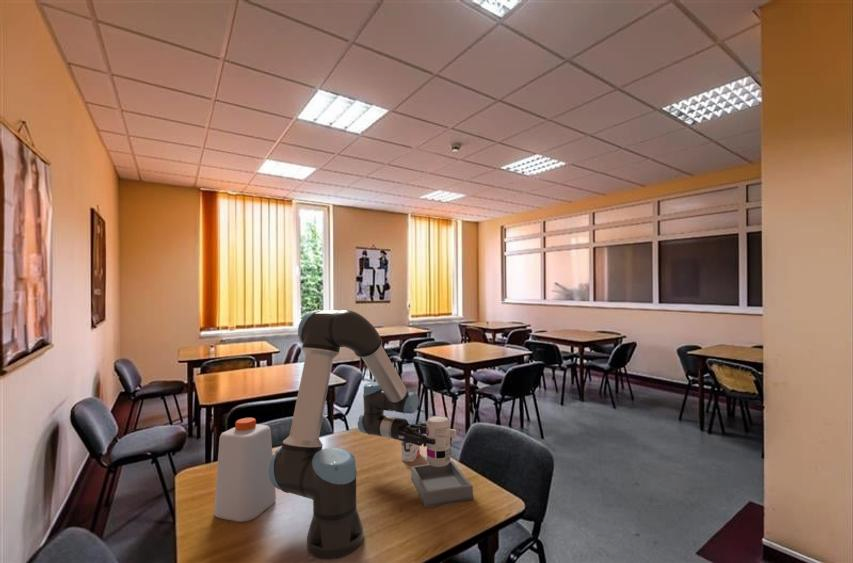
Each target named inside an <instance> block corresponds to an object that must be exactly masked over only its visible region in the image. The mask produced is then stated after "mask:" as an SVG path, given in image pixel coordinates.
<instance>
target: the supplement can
mask: <svg viewBox="0 0 853 563" xmlns="http://www.w3.org/2000/svg"><path fill="white" fill-rule="evenodd" d="M425 423H426V430H427V434H426V437H427V436H428V435H429V436H435V437H440V438H445V447H440V446H435V445H430V444H427V446H426V462H427V464H430V465H432V466H435V467H443V466H446V465H448V464H449V463H450V461H452V460H451V438H450V429H451V423H450V421H449V418H448V417H447V416H444V415H433V416H432V415H431V416H430V417H428V418H427V421H426V422H425Z"/></svg>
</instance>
